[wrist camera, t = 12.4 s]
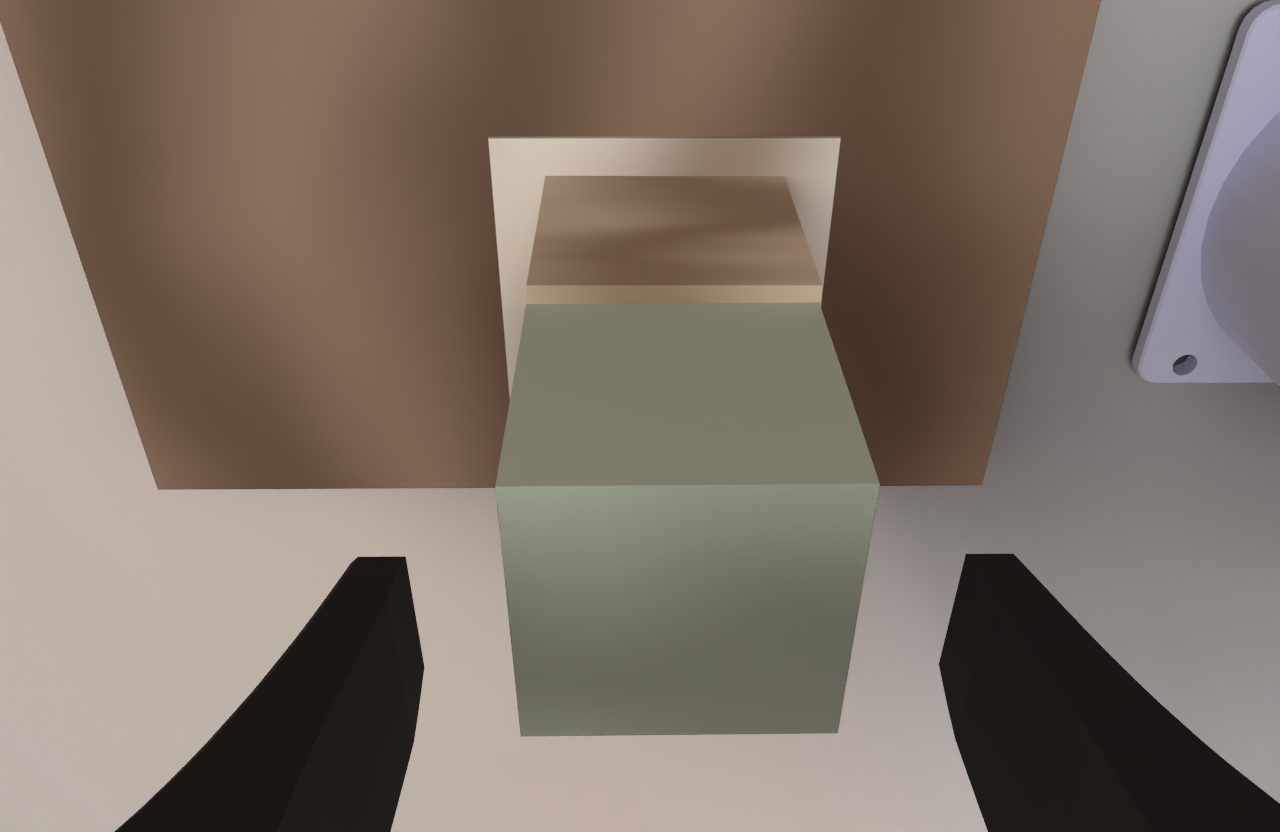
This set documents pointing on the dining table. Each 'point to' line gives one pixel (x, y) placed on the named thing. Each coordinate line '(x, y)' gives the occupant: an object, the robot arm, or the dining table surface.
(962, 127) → the board
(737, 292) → the beech block
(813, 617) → the sage block
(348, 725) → the robot arm
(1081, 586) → the dining table surface
